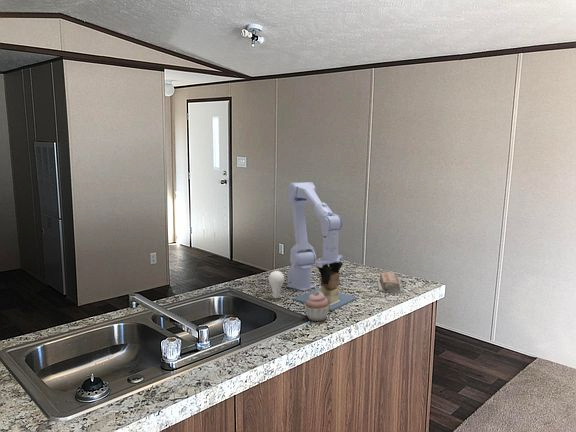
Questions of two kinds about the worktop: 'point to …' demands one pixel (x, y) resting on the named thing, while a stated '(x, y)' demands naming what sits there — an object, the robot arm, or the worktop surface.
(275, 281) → the lightbulb
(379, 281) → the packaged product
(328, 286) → the walnut block
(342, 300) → the board
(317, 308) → the cupcake
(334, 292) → the maple block
